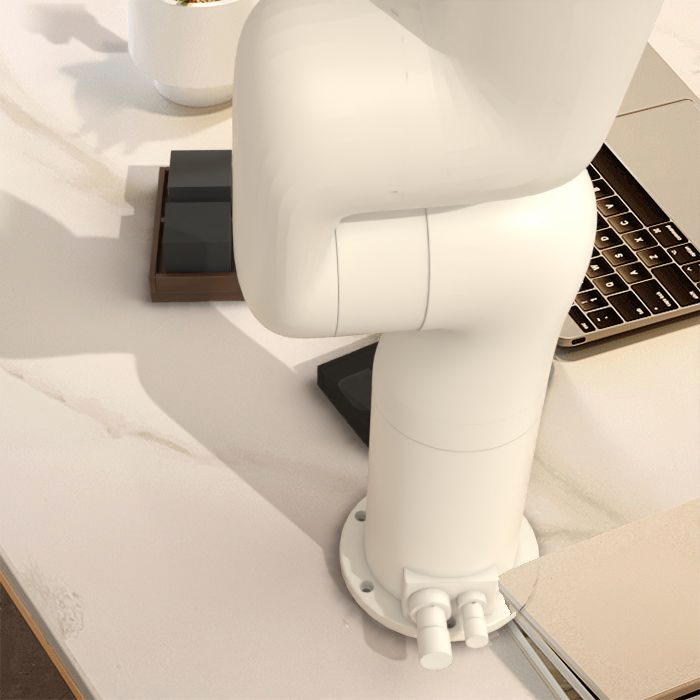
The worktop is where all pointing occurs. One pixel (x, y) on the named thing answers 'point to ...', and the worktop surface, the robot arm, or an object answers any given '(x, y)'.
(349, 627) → the worktop surface
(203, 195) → the partitioned wooden crate
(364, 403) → the vhs tape
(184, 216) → the block
